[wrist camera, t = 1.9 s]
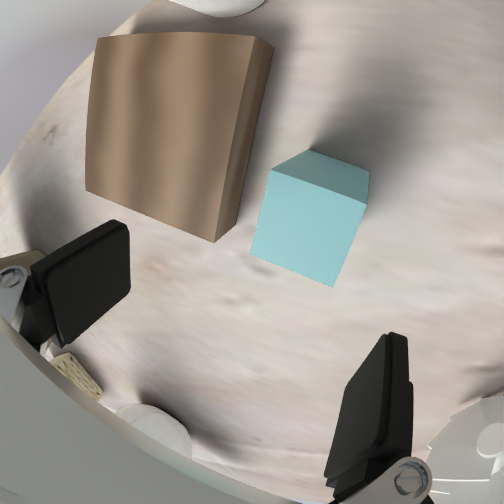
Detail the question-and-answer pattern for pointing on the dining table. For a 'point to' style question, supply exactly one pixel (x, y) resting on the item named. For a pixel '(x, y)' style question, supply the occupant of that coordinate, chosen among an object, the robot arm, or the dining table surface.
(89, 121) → the wavy brown panel
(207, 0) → the pill bottle
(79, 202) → the dining table surface
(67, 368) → the storage basket
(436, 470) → the spiral staircase
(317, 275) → the teal carton
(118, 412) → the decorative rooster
